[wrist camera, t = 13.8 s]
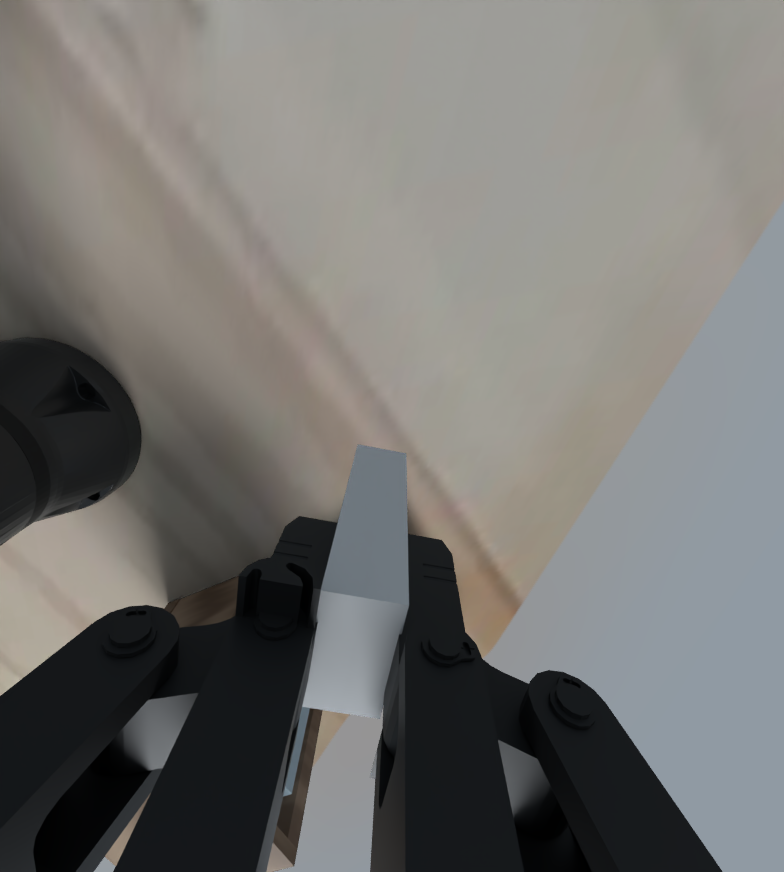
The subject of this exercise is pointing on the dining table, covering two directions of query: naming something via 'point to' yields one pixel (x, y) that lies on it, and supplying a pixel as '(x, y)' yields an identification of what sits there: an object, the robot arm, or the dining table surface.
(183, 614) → the tunnel
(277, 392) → the dining table surface
